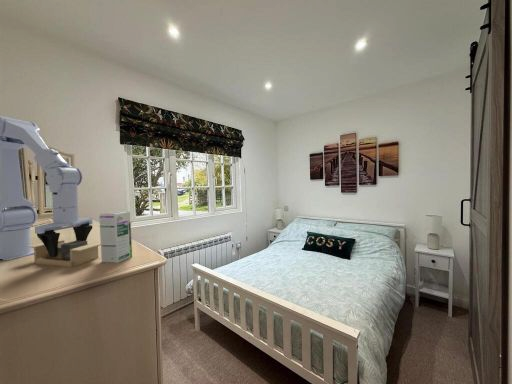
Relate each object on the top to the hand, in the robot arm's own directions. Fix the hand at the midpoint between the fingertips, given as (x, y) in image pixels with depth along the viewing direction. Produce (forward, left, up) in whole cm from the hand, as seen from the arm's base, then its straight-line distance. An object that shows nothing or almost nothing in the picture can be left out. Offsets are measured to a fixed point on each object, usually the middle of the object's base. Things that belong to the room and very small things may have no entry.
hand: (67, 252), depth 66 cm
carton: (0, 0, -3) cm, 3 cm away
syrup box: (+14, +4, -3) cm, 15 cm away
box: (0, 0, -2) cm, 2 cm away
